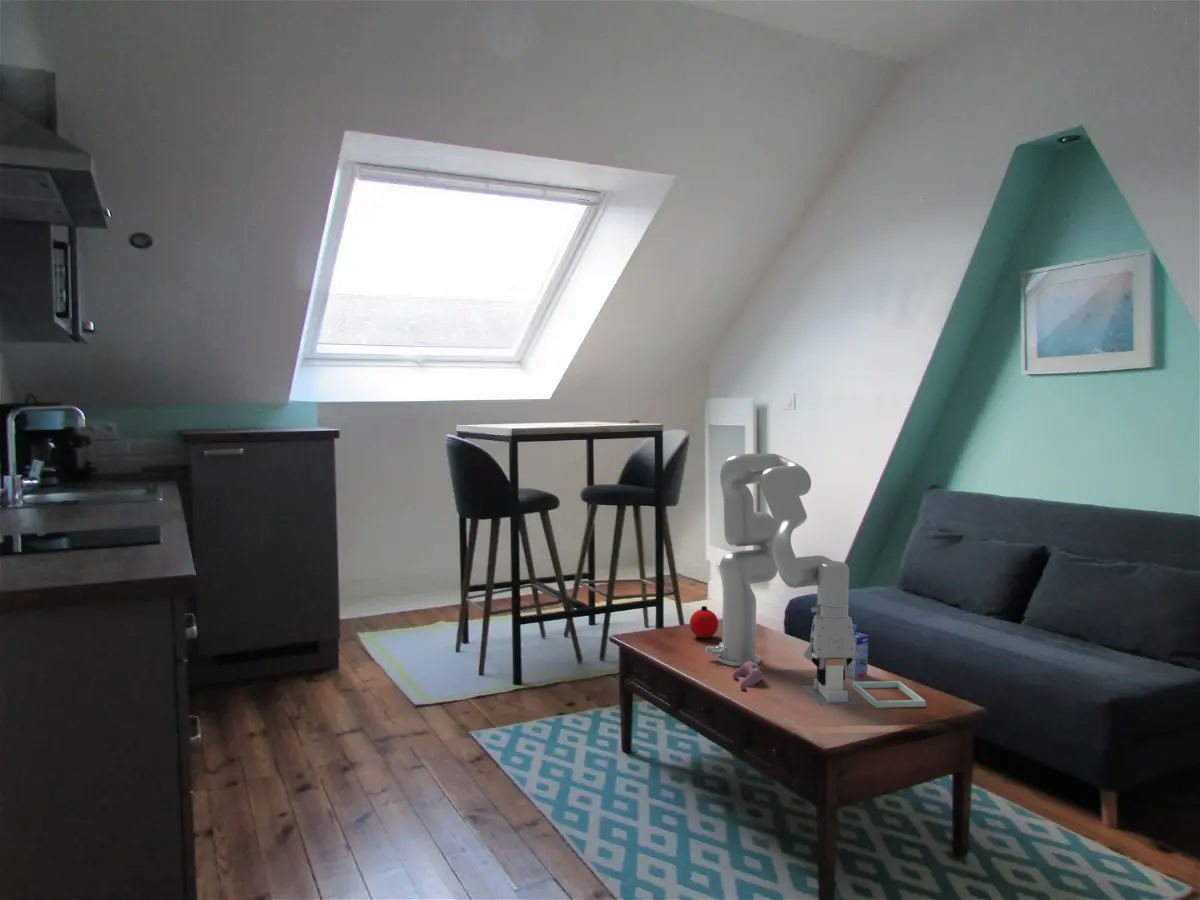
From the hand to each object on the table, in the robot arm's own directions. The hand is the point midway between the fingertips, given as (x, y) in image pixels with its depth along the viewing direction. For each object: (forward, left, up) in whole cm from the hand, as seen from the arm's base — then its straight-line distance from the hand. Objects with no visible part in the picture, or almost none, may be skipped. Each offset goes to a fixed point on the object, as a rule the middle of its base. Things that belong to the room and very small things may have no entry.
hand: (830, 682), depth 211 cm
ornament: (-20, +57, -4) cm, 61 cm away
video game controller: (-18, +13, -5) cm, 22 cm away
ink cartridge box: (+11, +17, -5) cm, 21 cm away
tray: (+14, -2, -4) cm, 15 cm away
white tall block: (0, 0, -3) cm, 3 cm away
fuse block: (0, 0, -4) cm, 4 cm away
